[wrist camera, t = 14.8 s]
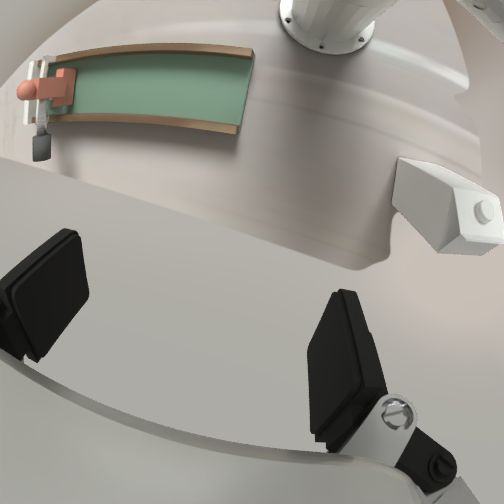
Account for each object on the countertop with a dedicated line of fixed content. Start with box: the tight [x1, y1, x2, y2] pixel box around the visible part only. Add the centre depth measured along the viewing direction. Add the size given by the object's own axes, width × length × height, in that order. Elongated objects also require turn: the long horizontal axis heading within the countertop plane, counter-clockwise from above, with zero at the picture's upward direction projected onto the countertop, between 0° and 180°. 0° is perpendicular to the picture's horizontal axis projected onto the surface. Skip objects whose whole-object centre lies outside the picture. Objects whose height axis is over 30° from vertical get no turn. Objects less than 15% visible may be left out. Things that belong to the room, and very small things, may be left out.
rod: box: [17, 68, 77, 162], centre depth 27 cm, size 14×3×12 cm, turn 169°
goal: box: [24, 56, 56, 125], centre depth 29 cm, size 11×6×5 cm, turn 169°
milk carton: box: [391, 157, 504, 256], centre depth 27 cm, size 7×7×19 cm
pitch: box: [32, 43, 255, 134], centre depth 30 cm, size 11×36×4 cm, turn 79°
